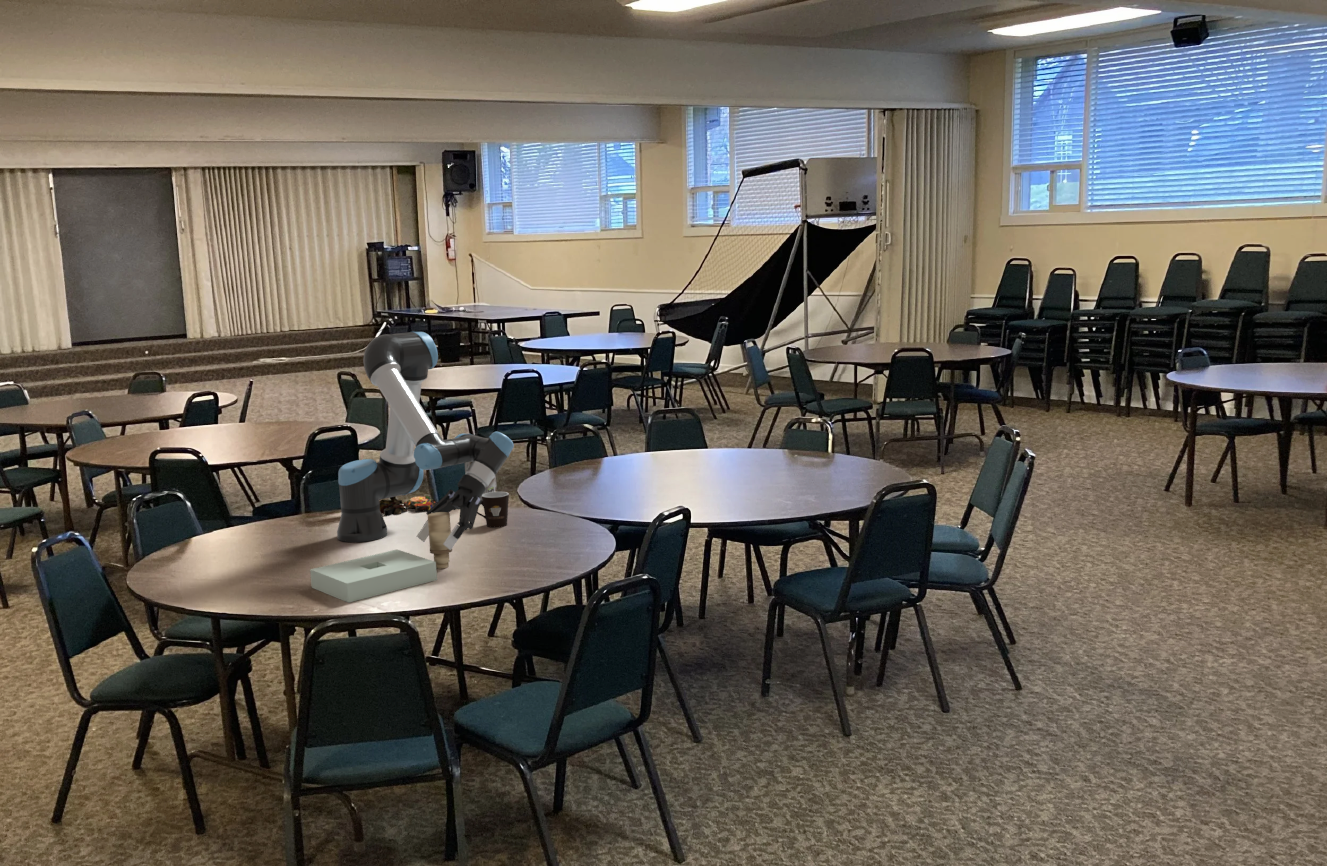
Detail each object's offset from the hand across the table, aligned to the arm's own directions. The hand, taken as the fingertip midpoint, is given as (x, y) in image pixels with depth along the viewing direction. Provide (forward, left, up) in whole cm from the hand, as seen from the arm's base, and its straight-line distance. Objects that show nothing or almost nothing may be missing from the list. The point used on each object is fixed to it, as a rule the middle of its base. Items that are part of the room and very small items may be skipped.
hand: (433, 543), depth 320 cm
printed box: (-65, +60, -7) cm, 89 cm away
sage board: (0, -19, -7) cm, 20 cm away
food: (-74, +35, -8) cm, 83 cm away
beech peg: (0, +2, -7) cm, 8 cm away
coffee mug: (-30, +40, -7) cm, 51 cm away
